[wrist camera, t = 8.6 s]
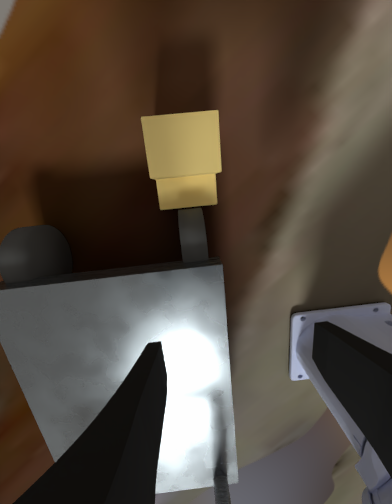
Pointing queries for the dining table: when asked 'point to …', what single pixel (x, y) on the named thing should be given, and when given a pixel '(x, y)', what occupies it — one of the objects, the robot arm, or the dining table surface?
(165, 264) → the trolley
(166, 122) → the yellow cube-like block
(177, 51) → the dining table surface
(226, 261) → the dining table surface
